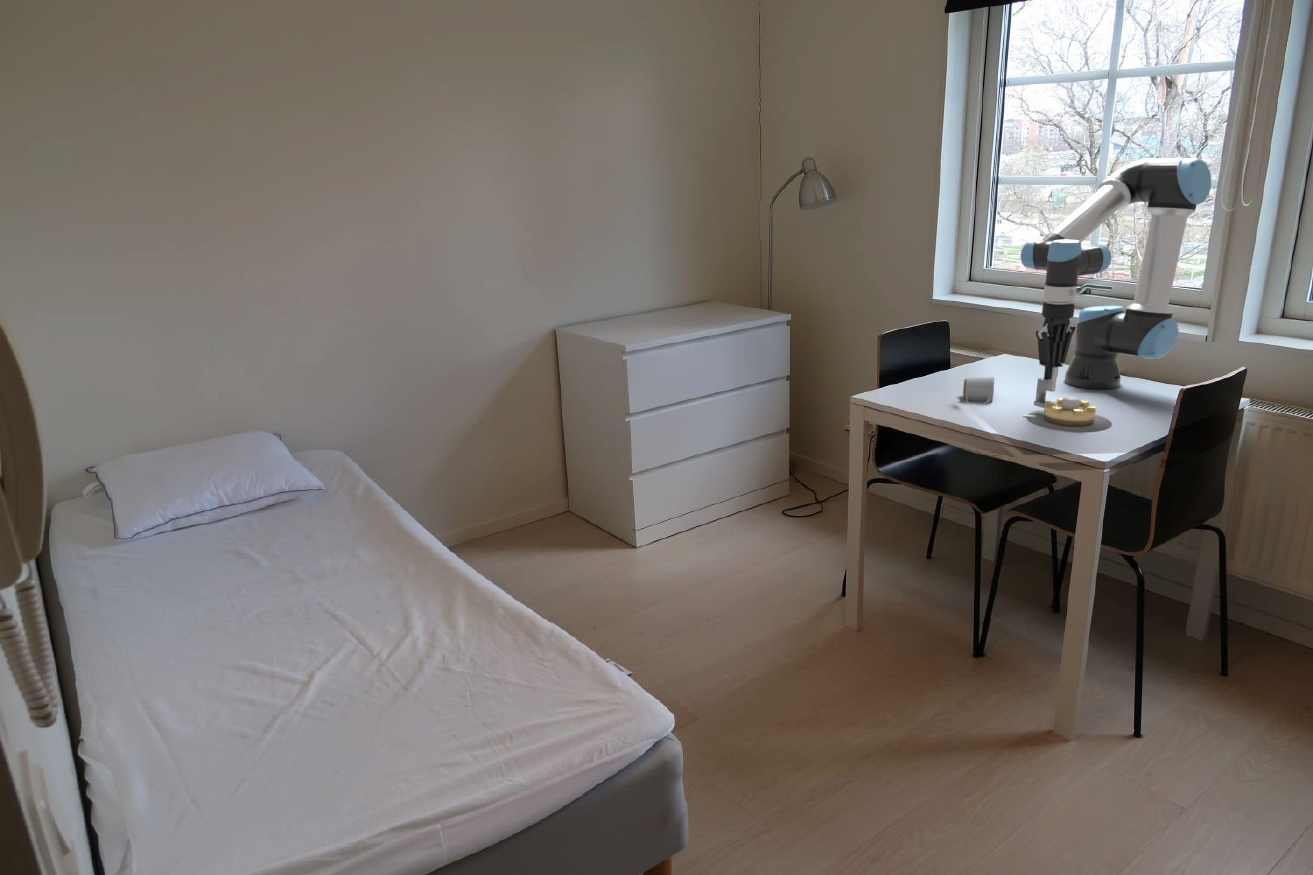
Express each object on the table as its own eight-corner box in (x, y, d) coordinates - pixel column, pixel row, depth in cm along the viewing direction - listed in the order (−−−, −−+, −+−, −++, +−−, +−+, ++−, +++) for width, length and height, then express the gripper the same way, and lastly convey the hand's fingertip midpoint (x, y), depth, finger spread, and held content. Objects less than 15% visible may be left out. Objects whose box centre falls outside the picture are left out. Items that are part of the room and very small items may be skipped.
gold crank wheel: (1104, 421, 223) (1109, 388, 220) (1072, 429, 217) (1077, 395, 215) (1050, 406, 236) (1054, 375, 233) (1019, 413, 231) (1023, 381, 228)
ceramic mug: (962, 398, 253) (964, 372, 250) (993, 400, 250) (995, 374, 247) (961, 409, 243) (963, 382, 241) (992, 411, 240) (995, 384, 238)
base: (1088, 413, 235) (1092, 388, 233) (1126, 436, 216) (1130, 409, 214) (1014, 415, 235) (1016, 390, 233) (1044, 438, 216) (1047, 411, 214)
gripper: (1055, 306, 219) (1045, 397, 226) (1088, 300, 224) (1077, 389, 232) (1029, 302, 225) (1020, 391, 232) (1062, 297, 231) (1052, 383, 238)
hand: (1049, 390), depth 232 cm, fingers closed
